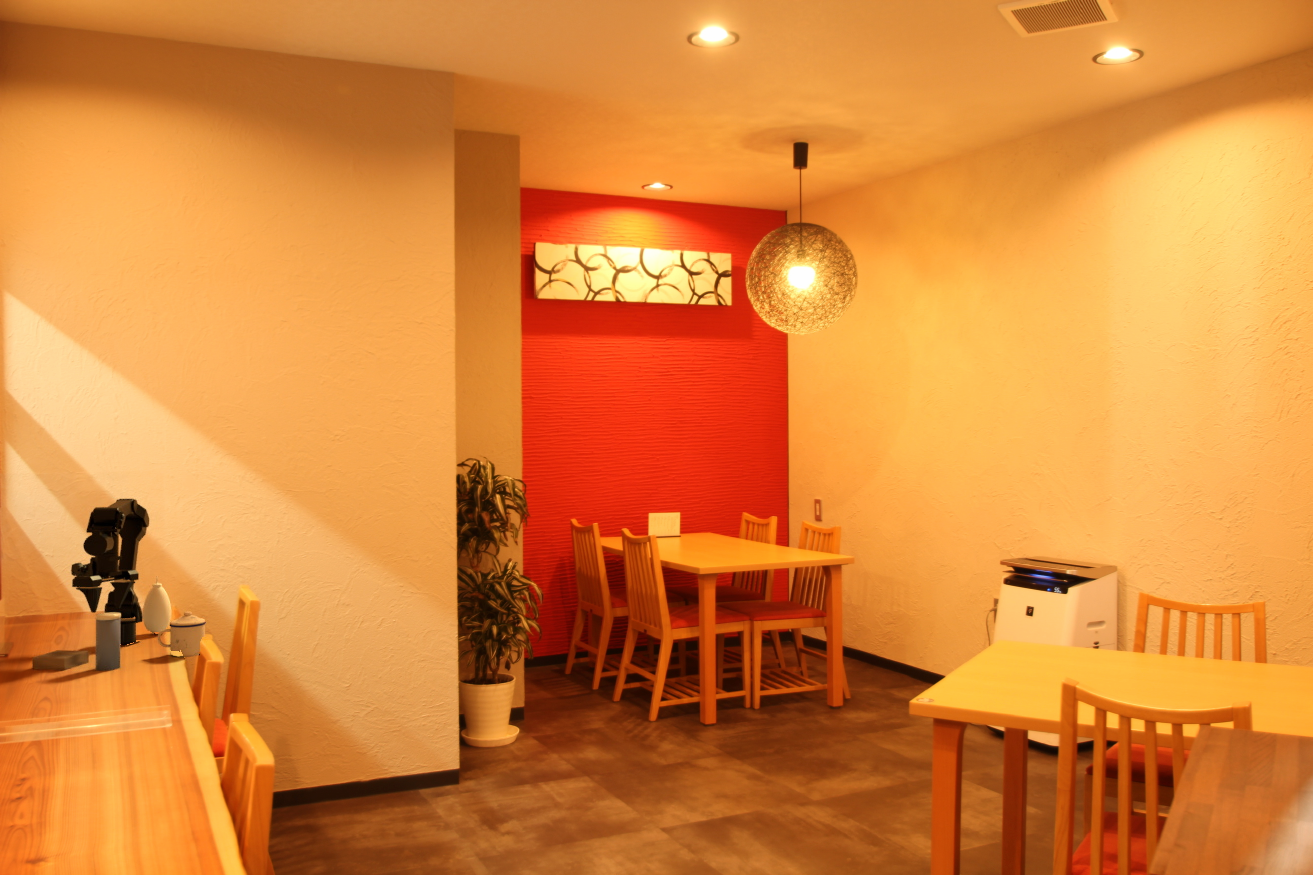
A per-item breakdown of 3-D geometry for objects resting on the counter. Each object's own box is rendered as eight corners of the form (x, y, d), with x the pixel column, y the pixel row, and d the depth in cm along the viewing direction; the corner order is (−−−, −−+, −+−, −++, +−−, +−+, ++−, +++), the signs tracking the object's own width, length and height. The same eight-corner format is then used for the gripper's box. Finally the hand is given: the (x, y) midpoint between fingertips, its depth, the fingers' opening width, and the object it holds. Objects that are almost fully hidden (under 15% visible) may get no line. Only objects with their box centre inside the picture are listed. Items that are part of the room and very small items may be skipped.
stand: (57, 661, 264) (57, 649, 264) (88, 662, 263) (88, 650, 263) (32, 668, 255) (32, 657, 255) (64, 669, 254) (64, 658, 254)
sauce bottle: (143, 632, 303) (143, 574, 303) (171, 630, 306) (171, 572, 306) (141, 637, 296) (142, 577, 296) (170, 635, 299) (171, 576, 299)
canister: (105, 665, 259) (105, 612, 259) (125, 666, 259) (125, 612, 259) (89, 670, 253) (90, 615, 254) (110, 671, 253) (111, 616, 253)
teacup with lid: (204, 649, 280) (204, 608, 280) (206, 655, 272) (206, 613, 272) (157, 653, 274) (157, 611, 274) (157, 659, 266) (158, 616, 266)
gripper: (105, 549, 281) (104, 604, 280) (54, 555, 263) (53, 614, 262) (140, 550, 279) (139, 605, 279) (91, 556, 261) (90, 615, 260)
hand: (105, 610), depth 270 cm, fingers open, 9 cm apart
